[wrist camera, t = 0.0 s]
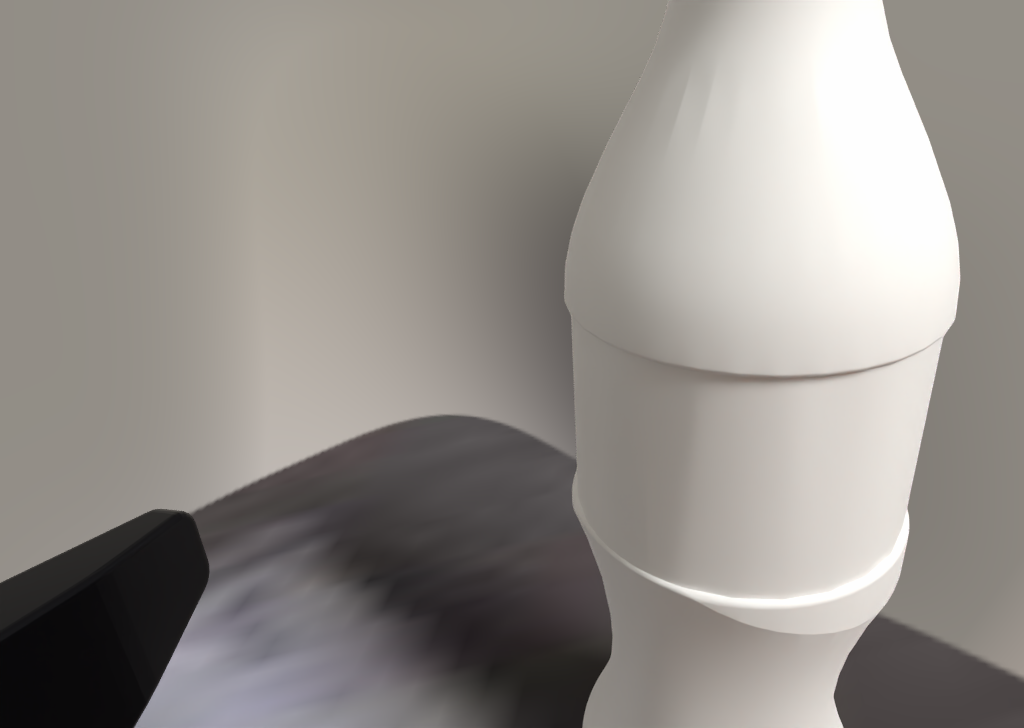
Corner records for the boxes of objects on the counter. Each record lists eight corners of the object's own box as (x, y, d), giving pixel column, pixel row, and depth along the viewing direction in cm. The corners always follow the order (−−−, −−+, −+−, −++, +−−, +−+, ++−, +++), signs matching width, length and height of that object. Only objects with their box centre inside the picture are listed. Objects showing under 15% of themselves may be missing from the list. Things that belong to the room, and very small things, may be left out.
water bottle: (824, 721, 25) (997, -250, 13) (855, 975, 19) (1229, -420, 7) (603, 686, 27) (584, -197, 15) (564, 908, 20) (482, -295, 9)
